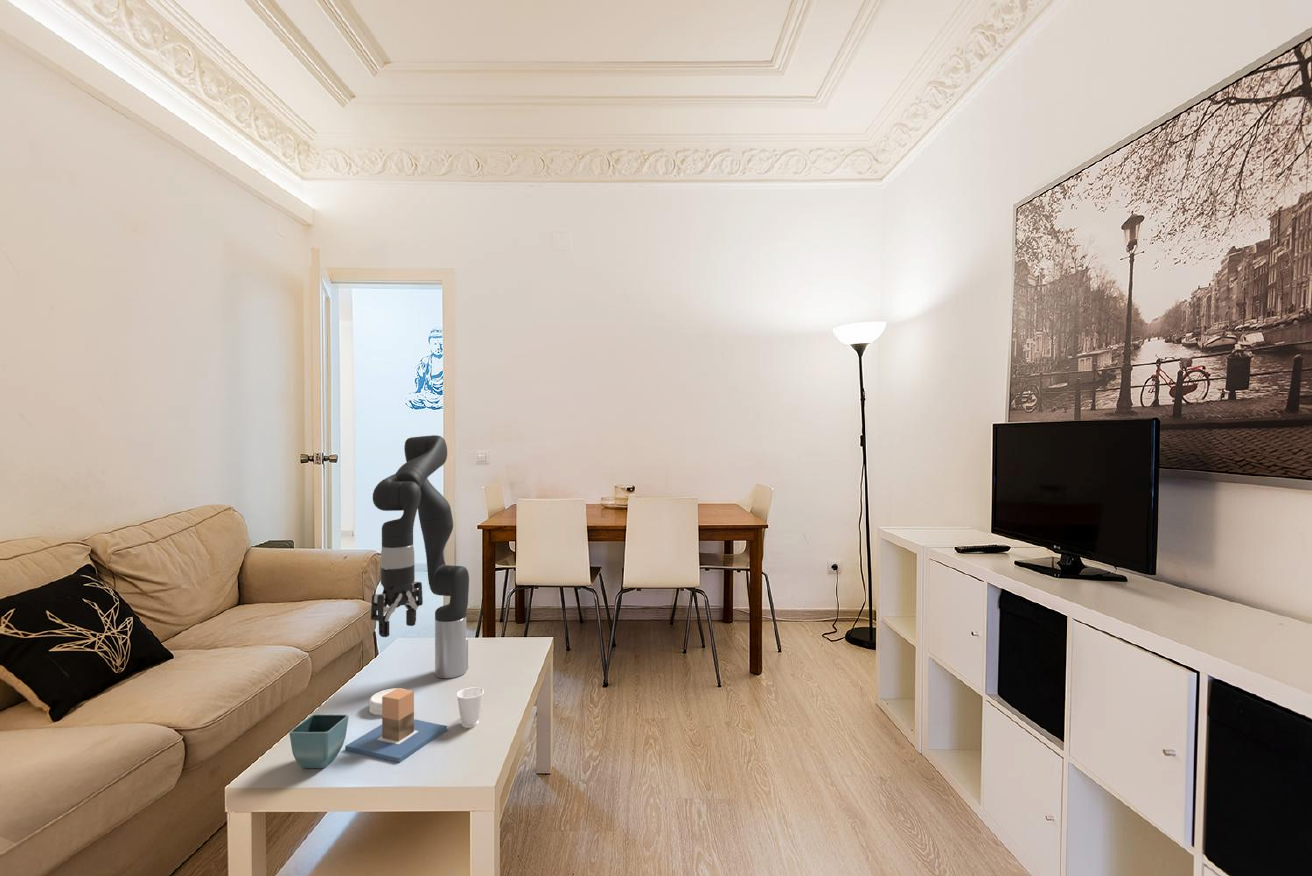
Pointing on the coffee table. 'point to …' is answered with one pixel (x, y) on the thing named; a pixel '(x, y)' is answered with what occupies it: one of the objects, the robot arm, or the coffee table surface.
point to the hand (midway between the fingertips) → (398, 630)
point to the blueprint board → (396, 742)
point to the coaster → (378, 702)
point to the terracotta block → (397, 704)
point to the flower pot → (318, 739)
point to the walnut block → (397, 727)
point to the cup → (470, 706)
